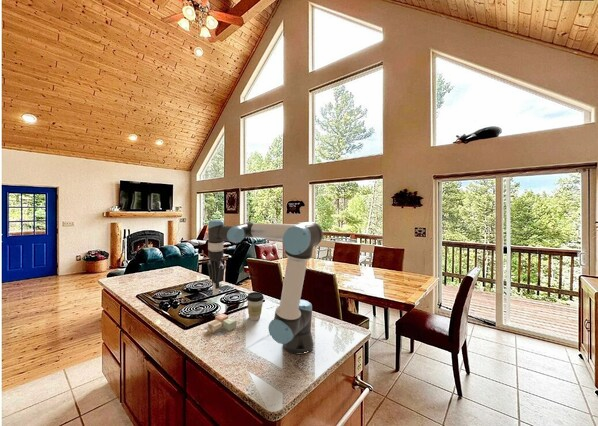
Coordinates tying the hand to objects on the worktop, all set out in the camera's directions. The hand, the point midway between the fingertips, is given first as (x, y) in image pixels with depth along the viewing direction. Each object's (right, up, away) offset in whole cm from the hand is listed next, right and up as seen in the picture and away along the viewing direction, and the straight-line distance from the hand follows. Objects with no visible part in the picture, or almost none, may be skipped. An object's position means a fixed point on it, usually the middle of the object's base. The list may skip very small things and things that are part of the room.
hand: (215, 293), depth 150 cm
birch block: (-1, -20, +3) cm, 20 cm away
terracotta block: (0, -19, +10) cm, 22 cm away
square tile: (+1, -21, +6) cm, 22 cm away
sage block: (+6, -20, +6) cm, 22 cm away
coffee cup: (+18, -20, +18) cm, 32 cm away
